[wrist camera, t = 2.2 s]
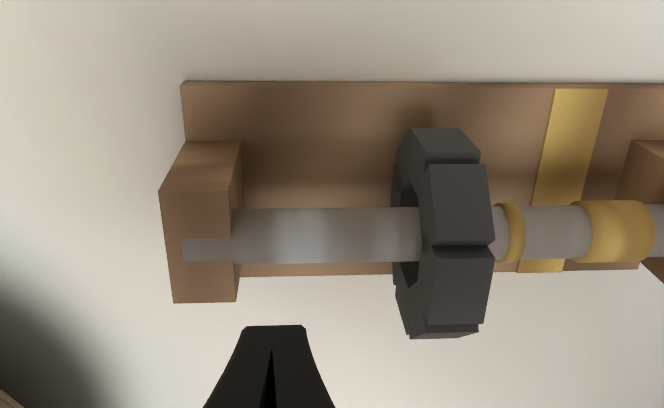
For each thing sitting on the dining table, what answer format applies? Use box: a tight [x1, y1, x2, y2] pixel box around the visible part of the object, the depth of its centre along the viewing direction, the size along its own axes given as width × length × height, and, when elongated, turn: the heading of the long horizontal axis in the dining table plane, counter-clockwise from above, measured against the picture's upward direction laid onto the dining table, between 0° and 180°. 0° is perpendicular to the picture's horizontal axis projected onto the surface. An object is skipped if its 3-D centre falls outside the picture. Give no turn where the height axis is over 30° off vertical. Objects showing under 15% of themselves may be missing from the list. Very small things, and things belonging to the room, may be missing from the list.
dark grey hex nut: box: [391, 128, 496, 339], centre depth 17 cm, size 2×7×7 cm, turn 179°
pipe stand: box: [158, 81, 664, 303], centre depth 19 cm, size 19×8×5 cm, turn 89°
